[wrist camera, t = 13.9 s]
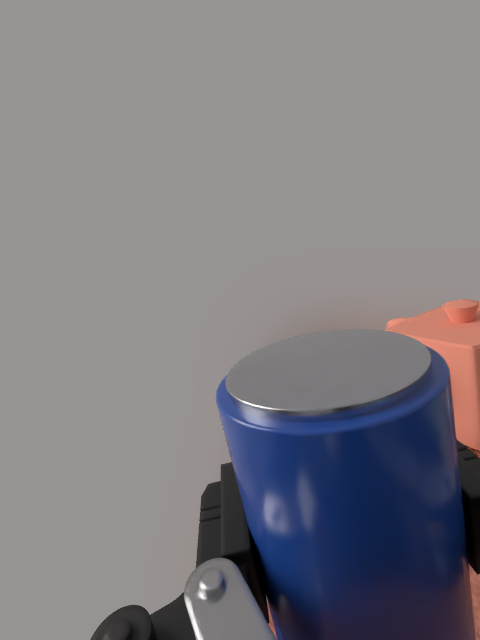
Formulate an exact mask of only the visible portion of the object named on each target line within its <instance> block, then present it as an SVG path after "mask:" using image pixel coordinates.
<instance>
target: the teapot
mask: <svg viewBox="0 0 480 640" xmlns="http://www.w3.org/2000/svg"><path fill="white" fill-rule="evenodd" d="M385 331H390V332H395V333H399V334H403V335H406V336H409V337H412V338H414V339H416V340H418V341H420V342H421V343H422V344H424V345H426V346H428V347H430V348H432V349H433V350H435V351H436V352H438V353H439V354H440V355H441V356H442V357H443V358H444V359H445V361H446V363H447V365H448V367H449V370H450V379H451V389H452V399H453V410H454V420H455V430H456V439H457V440H458V441H459V442H461V443H462V444H463V445H465V446H468V447H470V448H473V449H475V450H478V451H480V304H479V302H477V301H474V300H455V301H450V302H448V303H445V304H444V305H443V306H441V307H439V308H436V309H433V310H430V311H428V312H425V313H423V314H420V315H417V316H415V317H412V318H397V319H393V320H391V321H389V322H388V323H387V329H386V330H385Z"/></svg>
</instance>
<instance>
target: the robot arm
mask: <svg viewBox="0 0 480 640" xmlns="http://www.w3.org/2000/svg"><path fill="white" fill-rule="evenodd" d="M456 441H457V451H458V461H459V472H460V482H461V492H462V503H463V513H464V523H465V534H466V544H467V554H468V563H469V564H470V565H471V567H472V568H473V569H474V571H475V572H476V573H477V574H480V458H478V457H477V455H476V454H474V453H473V452H472V451H471V450H469V449H467V447H466V446H464V445H463V444H462V443H461V442H459V441H458V440H457V439H456ZM200 510H201V512H200V524H199V535H198V548H197V561H196V569H195V570H194V571H193V572H192V574H191V575H190V577H189V578H188V580H187V583H186V585H185V590H184V593H182V594H181V595H180V596H179V597H178V598H177V599H176V600H174V601H173V602H171V603H170V604H168V605H166V606H165V607H163V608H161V609H160V610H158V611H156V612H154V613H153V614H151V615H149V613H148V611H147V610H146V609H145V608H143V607H141V606H138V605H129V606H126V607H123V608H120V609H118V610H117V611H115V612H113V613H112V614H111V615H109V616H108V617H107V618H106V619H105V620H104V621H103V622H102V623H101V625H99V627H98V628H97V630H96V631H95V632H94V634H93V636H92V638H91V640H277V639H276V638H275V636H274V634H273V632H272V630H271V628H270V627H269V625H268V623H270V622H269V615H268V607H267V599H266V592H265V588H264V584H263V581H262V577H261V573H260V569H259V565H258V561H257V557H256V553H255V550H254V546H253V542H252V538H251V534H250V530H249V526H248V522H247V519H246V515H245V511H244V507H243V503H242V499H241V495H240V492H239V488H238V484H237V480H236V476H235V472H234V468H233V464H232V462H230V463H226V464H221V481H219V482H215V483H211V484H208V486H207V487H206V489H205V491H204V493H203V495H202V497H201V508H200Z"/></svg>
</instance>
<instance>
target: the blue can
mask: <svg viewBox="0 0 480 640" xmlns="http://www.w3.org/2000/svg"><path fill="white" fill-rule="evenodd" d="M216 402H217V406H218V410H219V414H220V418H221V422H222V426H223V430H224V433H225V437H226V441H227V445H228V449H229V453H230V457H231V460H232V464H233V468H234V472H235V476H236V480H237V484H238V488H239V492H240V495H241V499H242V503H243V507H244V511H245V515H246V519H247V522H248V526H249V530H250V534H251V538H252V542H253V546H254V550H255V553H256V557H257V561H258V565H259V569H260V573H261V577H262V581H263V584H264V588H265V592H266V596H267V600H268V604H269V608H270V611H271V615H272V619H273V623H274V627H275V631H276V635H277V639H278V640H476V637H475V627H474V616H473V606H472V596H471V585H470V575H469V565H468V554H467V544H466V534H465V523H464V513H463V503H462V492H461V482H460V472H459V461H458V451H457V441H456V430H455V420H454V410H453V399H452V389H451V379H450V370H449V367H448V365H447V363H446V361H445V359H444V358H443V357H442V356H441V355H440V354H439V353H438V352H436V351H435V350H433V349H432V348H430V347H428V346H426V345H424V344H422V343H421V342H420V341H418V340H416V339H414V338H412V337H409V336H406V335H403V334H399V333H395V332H390V331H383V330H372V329H344V330H332V331H323V332H316V333H311V334H305V335H301V336H297V337H293V338H289V339H285V340H282V341H279V342H276V343H273V344H270V345H268V346H265V347H263V348H261V349H258V350H257V351H255V352H252V353H251V354H249V355H247V356H246V357H244V358H243V359H241V360H240V361H238V362H237V363H236V364H235V365H234V366H233V367H232V368H231V369H230V371H229V372H228V374H227V375H226V376H225V378H224V379H223V380H222V381H221V383H220V385H219V387H218V389H217V393H216Z"/></svg>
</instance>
